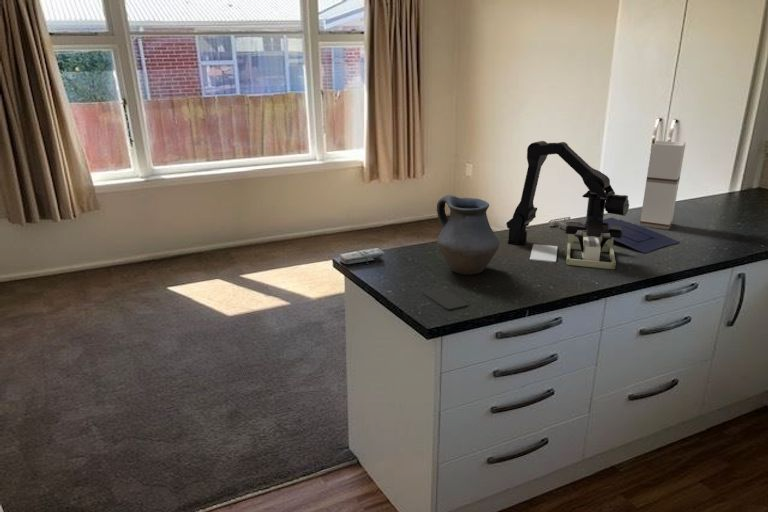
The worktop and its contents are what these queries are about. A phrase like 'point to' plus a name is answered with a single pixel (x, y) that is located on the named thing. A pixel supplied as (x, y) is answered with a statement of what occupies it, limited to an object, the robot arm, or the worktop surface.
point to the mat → (544, 253)
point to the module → (591, 249)
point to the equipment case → (575, 244)
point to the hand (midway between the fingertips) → (590, 253)
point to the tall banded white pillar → (662, 184)
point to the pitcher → (466, 234)
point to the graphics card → (564, 222)
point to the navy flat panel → (639, 236)
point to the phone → (445, 299)
